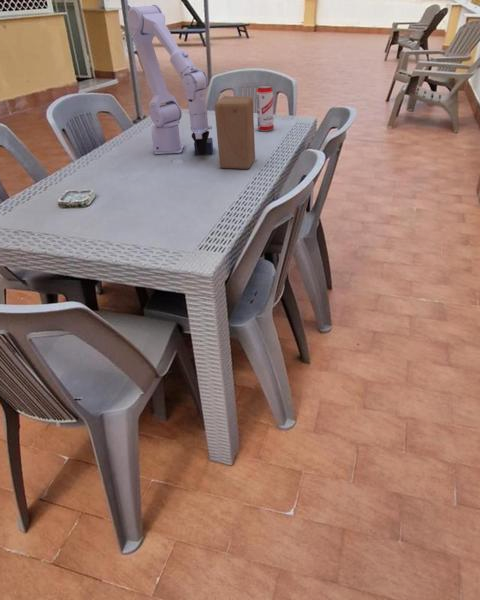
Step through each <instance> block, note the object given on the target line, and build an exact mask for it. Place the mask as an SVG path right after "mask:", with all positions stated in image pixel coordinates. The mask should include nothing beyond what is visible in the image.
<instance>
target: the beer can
mask: <svg viewBox="0 0 480 600" xmlns="http://www.w3.org/2000/svg"><path fill="white" fill-rule="evenodd" d="M256 112H257V113H256V114H257V129H258V130H259V131H260V132H263V133H268V132H272V131H273V129H274V125H275V124H274V90H273V89H272V85H269V84H262V85H261V84H260V85H258V86H257V90H256Z"/></svg>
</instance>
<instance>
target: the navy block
mask: <svg viewBox="0 0 480 600" xmlns="http://www.w3.org/2000/svg"><path fill="white" fill-rule="evenodd" d="M193 148H194V155H195V156H200V155H199V152H198V149H197V146H196V143H195V141H194V142H193ZM213 152H214V142H213V137H208V139H207V147H206V155H205V156H208V155H214V154H213Z"/></svg>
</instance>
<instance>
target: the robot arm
mask: <svg viewBox="0 0 480 600" xmlns="http://www.w3.org/2000/svg"><path fill="white" fill-rule="evenodd" d="M126 22H127V24H128V28H129V30H130V34H131V37H132V39H133V42H134V46H135V49H136V51H137V54H138V57H139V60H140V64H141V67H142V70H143V72H144V75H145V79H146V81H147V84H148V87H149V91H150V93H151V96H152V98H151V100H150V102H149V103H148V108H149V113H150V115H149V116H150V119H151V121H152V123H153V125H152V126H151V138H152V145H153V149H154V150H153V151H154V155H163V154H166V155H167V154H168V155H169V154H170V155H171V154H181V153H182V152H183V149H184V144H181V136H180V128H179V124H180V121H181V119H182V116H183V112H182V109H181V106H180V105H179V104H178V101H177V99H176V97H175V96H174V95H172V94H171V93H169V91H168V88H167V85H166V82H165V78H164V76H163V73H162V69H161V66H160V63H159V60H158V57H157V54H156V50H155V48H154V47H155V46H154V45H153V40H154V38H156V39H157V40H158V41H159V43H160V44H161V45H162V47H163V48H164V49H165V51H166V52H167V53H168V54H169V56H170V58H169V59H170V60H169V62H170V64H171V65H172V66H173V68H174V70H175V71H176V73H177V74H178V76H179V77H180V79H181V80H182V82H181V87H182V89H183V91H184V93H185V97H186V99H187V104H188V105H187V106H188V113H189V121H190V131H191V132H192V133H191V138H192V140H193V141H194V142H195V143H196V146H197V149H198V152H199V155H198V156H207V155H206V147H207V139H208V138H209V135H210V131H209V130H212V129H213V125H209V117H208V109H207V108H208V107H207V97H206V89H207V88H208V86H209V79H208V76H207V74H206V72H205V71H204V70H202V69H200V68H199V67H197V66H196V65H195V63H194V61H193V60H192V59H191V57H190V55H189V53H188V51H186V50H185V49H182V48H180V47H179V46H178V44H177V42H176V40H175V39H174V36H173V34H172V33H171V32H170V30H169V27H168V25H166V24H167V23H166V16H165V14H164V13H163V11H162V9H161V7H159V5H157V4H152V5H144V6H131V7H130V8H129V9H128V12H127V16H126Z"/></svg>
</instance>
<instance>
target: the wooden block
mask: <svg viewBox="0 0 480 600" xmlns="http://www.w3.org/2000/svg"><path fill="white" fill-rule="evenodd" d="M214 114H215V115H214V117H215V125H216V126H215V127H216V137H217V151H218V161H219V163H218V164H219V167H220V168H221V169H235V170H237V169H238V170H248V169H250V168H251V166H252V165H253V163H254V162H255V159H256V143H255V118H254V100H253V98H252V96H234V95H233V96H231V95H230V96H229V95H227V96H226V95H225V96H222V97H221V98H220V99H218V100H217V101H216V102H215V103H214Z"/></svg>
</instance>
